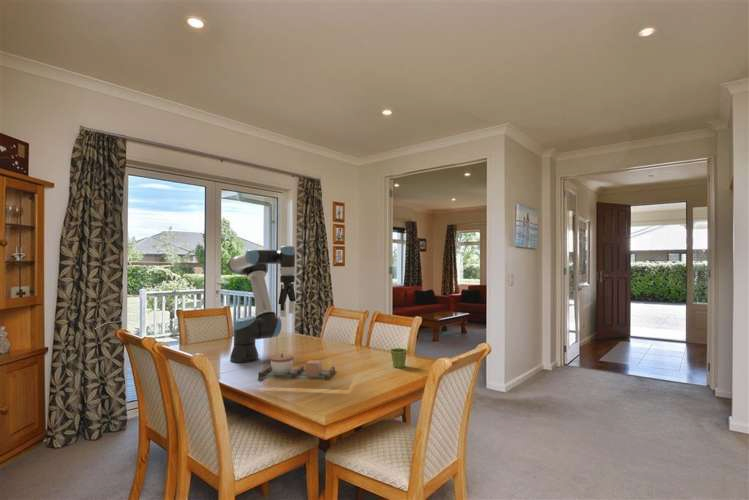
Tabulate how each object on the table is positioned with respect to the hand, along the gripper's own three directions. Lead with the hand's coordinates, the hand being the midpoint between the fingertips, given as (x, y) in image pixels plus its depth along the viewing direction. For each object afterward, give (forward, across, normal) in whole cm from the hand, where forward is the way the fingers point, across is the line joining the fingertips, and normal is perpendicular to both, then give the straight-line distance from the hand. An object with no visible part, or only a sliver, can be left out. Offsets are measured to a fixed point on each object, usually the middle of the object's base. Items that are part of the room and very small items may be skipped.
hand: (287, 315), depth 219 cm
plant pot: (+27, -5, +59) cm, 65 cm away
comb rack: (+27, +20, +12) cm, 35 cm away
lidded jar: (+25, +20, +4) cm, 32 cm away
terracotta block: (+25, +20, +20) cm, 38 cm away
